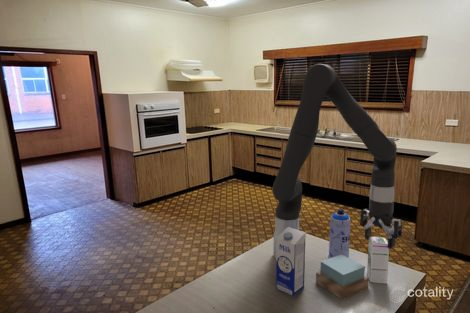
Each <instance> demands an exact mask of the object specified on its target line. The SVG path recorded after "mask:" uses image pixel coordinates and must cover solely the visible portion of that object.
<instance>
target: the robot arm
mask: <svg viewBox="0 0 470 313" xmlns="http://www.w3.org/2000/svg"><path fill="white" fill-rule="evenodd" d="M302 86H303V87H302V91H301V92H302V93H301V96H300V101H299V104H298V108H297V110H296V113H295V116H294V120H293V122H292V126H291V129H290V131H289V135H288V138H287V143H286V147H285V150H284V153H283V157H282V162H281V164H280V168H279V169H278V173H277V175H276V177H275V180H274V181H273V185H272V195H273V197H274V198H275V200H277V201H278V203H277V206H276V208H275V211H274V214H275V215H274V218H275V219H274V220H275V221H274V224H275V225H274V230H275V231H274V232H273V255H274V258H275V259H276V248H277V237H278V236H279V235H280V234H281V233H282V232H283V231H284V230H285V229H286V228H287V227H290V228H294V229H297V230H300V212H301V209H302V201H303V185H302V181H301V179H300V178H299V174H300V172H301V170H302V167H303V166H304V165H305V162H306V161H307V159H308V158H309V155H310V154H311V151H312V149H313V147H314V145H315V141H316V139H317V135H318V132H319V125H320V112H321V107H322V104H323V102H324V99H325V97H326V98H327V99H328V100H329V101H330V102H331V103H332V104H333V106H335V107H336V109H337V110H338V112H339V114H340V116H341V117H342V118H343V120H344V122H345V123H346V125H348V127H349V128H350V129H351V130H352V131H353V133H354V134H355V135H356V136H357V137H358V138H359V139H360V141H362V142H363V144H364V146H365V147H366V149H367V150H368V152H369V153H370V154H371V155H372V156H373V167H372V170H371V178H370V180H371V181H370V190H369V202H368V203H369V204H368V208H364V209H361V210H360V218H359V220H360V221H359V225H360V226H361V227H363V229H364V238H365V239H366V240H367V241H369V237H372V231H373V230H372V227H377V228H380V229H383V231H384V233H386V235H387V236H388V238H387V242H388V248H389V250H392V249H393V248H395V246H396V240H397V239H399V238H402V236H403V220H402V219H400V218H399V219H396V218H394V217H393V214H394V208H395V207H394V206H395V181H396V180H395V178H396V177H395V174H396V173H395V165H396V158H397V152H398V151H397V149H398V148H397V144H396V142H395V141H394V140H393V139H392V138H390V137H387V135H386V134H385V133H384V132H383V131H382V130H381V129H380V127H379V125H378V124H377V122H376V121H375V120H374V119H373V117H371V115H370V114H369V113H368V112H367V111H366V110H365V109H364V108H363V107H362V105H360V103H359V102H357V100H356V99H355V98H354V97H353V96H352V95H351V94H350V92H349V91H348V89H346V88H347V87H346V86H345V85H344V84H343V82H342V80H340V78H339V76H338V74H337V73H336V71H335V69H334V68H333V67H332V66H330V65H329V64H325V63H324V64H323V63H316V64H314V65H312V66H310V67H309V69H308V70H307V71H306V72H305V77H304V80H303V85H302ZM369 219H370V220H369Z"/></svg>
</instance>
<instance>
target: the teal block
mask: <svg viewBox="0 0 470 313" xmlns="http://www.w3.org/2000/svg"><path fill="white" fill-rule="evenodd" d="M365 268H366V266H365V265H362V264H361V263H359V262H357V261H355V260H353V259H351V258H348V257H346V256H344V255H342V254H341V255H338V256H335V257H332V258H327V259H323V260H321V261H320V270H319V271H320V272H321V273H322V274H324V275H326V276H327V277H329V278H330V279H332V280H334V281H335V282H337V283H338V284H340V285H341V286H345V285H348V284H350V283H352V282H355V281H357V280H360V279H362V278H364V276H365Z"/></svg>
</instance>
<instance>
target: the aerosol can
mask: <svg viewBox="0 0 470 313" xmlns="http://www.w3.org/2000/svg"><path fill="white" fill-rule="evenodd" d="M329 219H330V220H329V221H330V222H329V241H328V242H329V243H328V256H327V259H329V258H332V257H335V256H338V255H341V254H342V255H344V256H346V257H348V258H349V257H350V255H349V254H350V240H351V238H350V236H351V220H352V219H351V218H350V216H349V214H347V213H346V212H345V209H342V208H341V209H337V212H334V213H333V214H331V216H330V218H329Z"/></svg>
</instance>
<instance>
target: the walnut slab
mask: <svg viewBox="0 0 470 313" xmlns="http://www.w3.org/2000/svg"><path fill="white" fill-rule="evenodd" d="M369 282H370V281H369V278H368V276H366V275H364V278H362V279H360V280H357V281H355V282H352V283H350V284H348V285H345V286H341V285H340V284H338V283H337V282H335V281H334V280H332V279H330V278H329V277H327V276H326V275H324V274H322V273H321V272H320V270H319V271H317V272H316V273H315V283H317V284H319V286H321V287H323V288H324V289H326V290H328V291H329V292H331V293H333V295H336V296H337V297H338V298H340V299H342V300H346V299H348V298H350V297H352V296H355V295H356V294H359V293H360V292H363V291H365V290H367V289H368V288H369Z"/></svg>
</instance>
